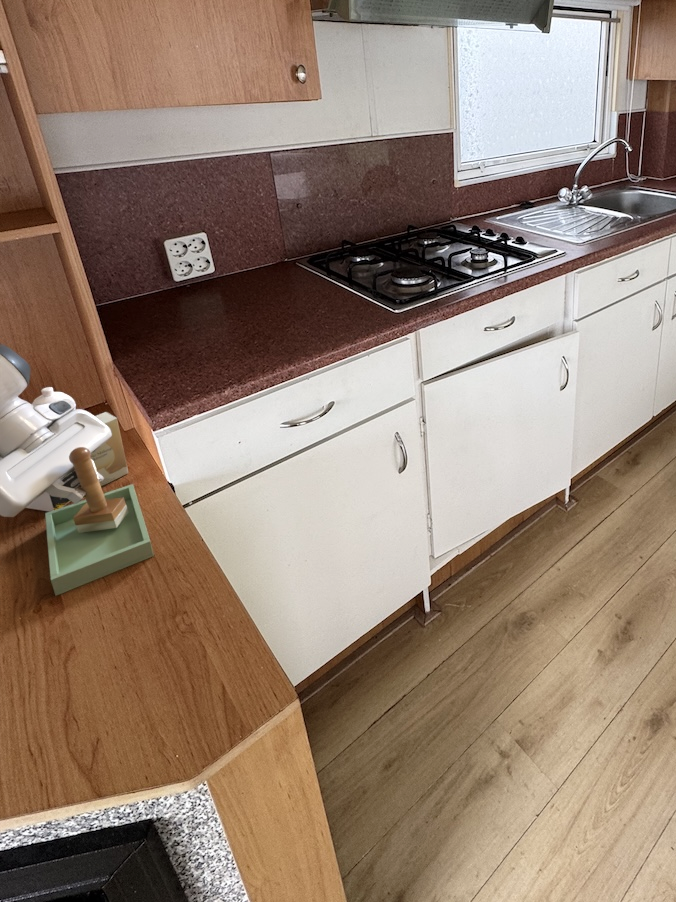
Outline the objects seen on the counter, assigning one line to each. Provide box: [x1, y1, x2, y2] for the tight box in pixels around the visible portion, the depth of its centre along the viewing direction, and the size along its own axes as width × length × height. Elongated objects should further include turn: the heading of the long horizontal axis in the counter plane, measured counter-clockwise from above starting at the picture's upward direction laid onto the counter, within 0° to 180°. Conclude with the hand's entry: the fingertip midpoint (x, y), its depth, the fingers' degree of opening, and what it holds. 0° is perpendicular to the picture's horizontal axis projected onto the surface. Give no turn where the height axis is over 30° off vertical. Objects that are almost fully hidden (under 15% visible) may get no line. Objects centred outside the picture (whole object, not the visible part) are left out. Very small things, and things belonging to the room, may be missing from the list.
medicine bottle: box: [25, 469, 81, 512], centre depth 102 cm, size 7×7×12 cm
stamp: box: [69, 447, 129, 533], centre depth 94 cm, size 6×4×14 cm, turn 97°
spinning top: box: [30, 386, 77, 410], centre depth 119 cm, size 8×8×12 cm
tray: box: [44, 483, 155, 597], centre depth 94 cm, size 18×13×3 cm
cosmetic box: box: [91, 411, 129, 487], centre depth 107 cm, size 6×4×12 cm
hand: (91, 491), depth 94 cm, fingers closed on stamp, 2 cm apart
